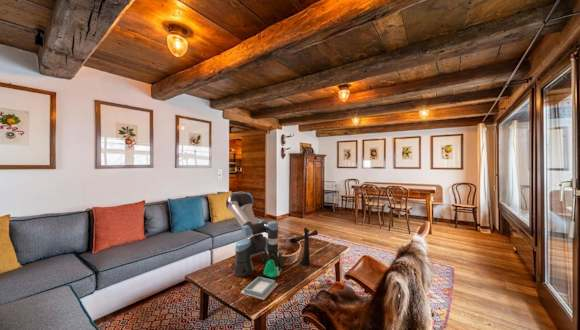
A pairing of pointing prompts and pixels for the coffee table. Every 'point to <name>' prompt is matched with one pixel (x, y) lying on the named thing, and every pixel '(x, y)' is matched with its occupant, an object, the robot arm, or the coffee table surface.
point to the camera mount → (270, 269)
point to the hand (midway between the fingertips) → (272, 273)
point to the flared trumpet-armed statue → (305, 245)
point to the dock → (260, 288)
